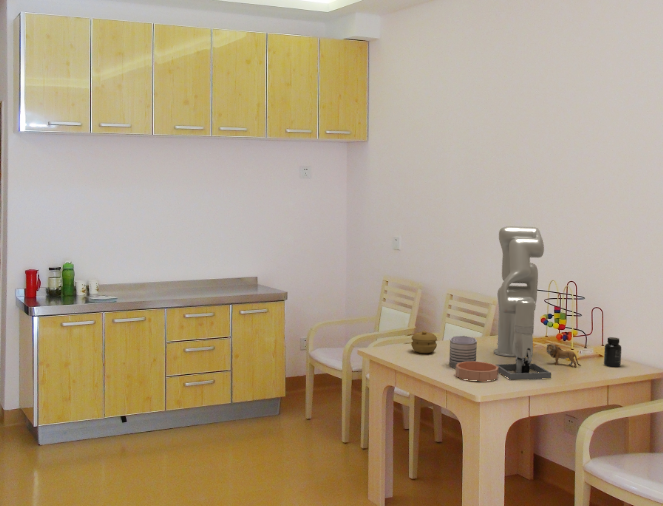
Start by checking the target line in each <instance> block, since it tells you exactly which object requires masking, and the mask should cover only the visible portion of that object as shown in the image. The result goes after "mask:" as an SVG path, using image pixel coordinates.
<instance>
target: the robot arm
mask: <svg viewBox="0 0 663 506" xmlns="http://www.w3.org/2000/svg"><path fill="white" fill-rule="evenodd" d="M543 240H544V239H543V237H542V234H541V231H540V230H539V228H538V227H535V226H534V227H533V226H504V227H501V228H500V230H499V231H498V241H499V244H500V247H501V251H502V259H501V261H502V263H501V278H502V281H503V282H502V284H501V286H500V287H499V288H498V290H497V305H498V324H497V326H498V327H497V343H496V344H497V348H495V349H493V354H494V355H496V356H497V355H498V356H502V357H515V363H516V362H517V359H522V362H523V366H522V372H521V373H530V371H531V370H530V363H532V362H533V355H534V342H533V341H534V340H533V338H534V337H533V335H534V331H535V330H534V327H535V311H536V306H537V305H536V304H537V299H538V284H539V283H538V282H539V270H538V267H537V265H536V264H535V263H533V262H531V258H538V259H539V258H542V257H543V256H544V253H545V245H544V241H543ZM512 284H526V285H512ZM525 360H526V361H525Z"/></svg>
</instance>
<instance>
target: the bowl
mask: <svg viewBox="0 0 663 506" xmlns="http://www.w3.org/2000/svg"><path fill="white" fill-rule="evenodd" d="M499 375H500V373H499V367H498V366H496V365H495V364H494V363H491V362H485V361H477V360H476V361H468V362H461V363H458V364H457V365H456V368H455V377H456V378H458V377H459V378H458V379H460V378H462V379H461V380H463V379H468V380H477V381H487V380H494V379H497V378H498V379H499ZM498 379H497V380H498Z"/></svg>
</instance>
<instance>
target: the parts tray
mask: <svg viewBox="0 0 663 506" xmlns="http://www.w3.org/2000/svg"><path fill="white" fill-rule="evenodd" d="M494 365H496V366H498V367H499V374H500V373H501V374H503V375H504V376H506V377H508V378H509V379H529V380H543V379H542V378H551V379H552V372H551V371H549V370H547V369H545V368H544V367H542V366H540V365H538V364H537V363H535V362H534V363H532V362H531V363H530V369H533V370H532V371H535V372H529V373H516V372H514V373H512V372H510V371H516V363H501V364H500V363H498V364H494ZM536 371H537V372H536ZM538 372H539V373H538ZM501 374H500V375H501ZM503 375H502V376H503ZM504 376H503V377H504ZM506 377H505V378H506ZM509 379H508V380H509Z"/></svg>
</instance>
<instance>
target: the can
mask: <svg viewBox="0 0 663 506" xmlns="http://www.w3.org/2000/svg"><path fill="white" fill-rule="evenodd" d="M477 343H478V340H477V339H476V338H475V337H473V336H465V335H459V336H458V335H456V336H453V337H450V338H449V359H448V360H449V361H448V363H449V366H450V368H453V369H456V365H457V364H458V363H461V362H468V361H477V347H478V345H477Z"/></svg>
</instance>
